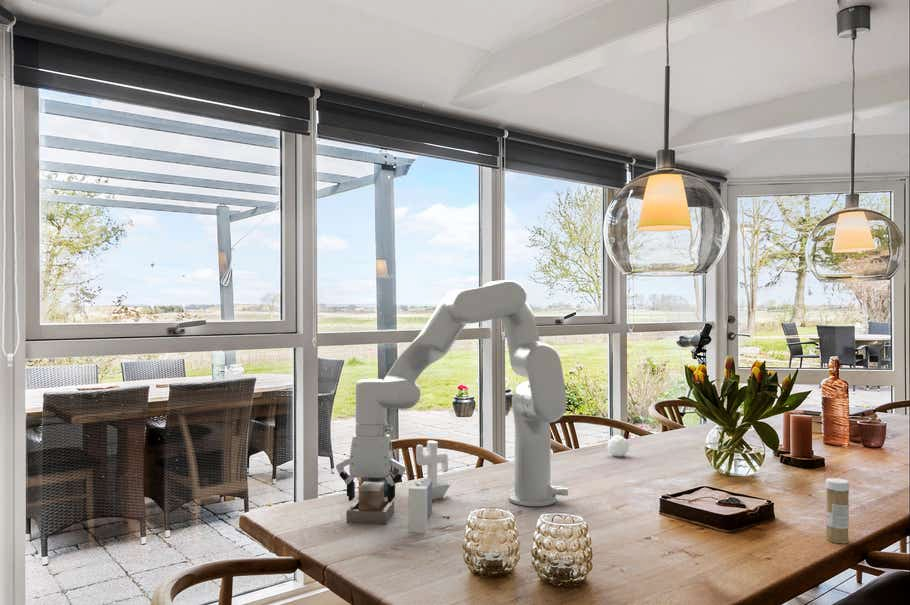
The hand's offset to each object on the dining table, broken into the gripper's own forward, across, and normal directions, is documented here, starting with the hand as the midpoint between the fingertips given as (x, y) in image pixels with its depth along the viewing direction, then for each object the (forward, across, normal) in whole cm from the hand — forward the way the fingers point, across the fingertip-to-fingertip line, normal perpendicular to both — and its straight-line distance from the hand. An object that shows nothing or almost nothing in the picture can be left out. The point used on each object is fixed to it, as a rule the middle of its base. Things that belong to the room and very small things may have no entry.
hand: (370, 500), depth 165 cm
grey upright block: (+4, -13, 0) cm, 14 cm away
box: (+5, +3, -20) cm, 21 cm away
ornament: (+4, -68, -77) cm, 103 cm away
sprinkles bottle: (+4, -106, +2) cm, 106 cm away
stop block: (+4, 0, 0) cm, 4 cm away
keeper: (+4, 0, 0) cm, 4 cm away
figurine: (+4, -12, -20) cm, 24 cm away
